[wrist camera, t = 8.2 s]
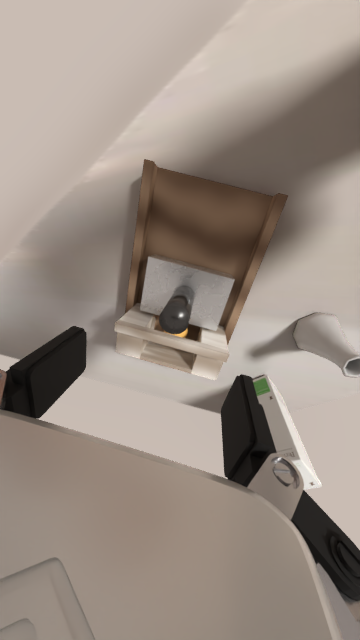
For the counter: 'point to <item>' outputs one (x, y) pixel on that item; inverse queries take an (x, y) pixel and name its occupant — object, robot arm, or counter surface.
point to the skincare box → (284, 430)
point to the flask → (327, 342)
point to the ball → (180, 333)
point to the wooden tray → (194, 261)
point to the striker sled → (184, 294)
